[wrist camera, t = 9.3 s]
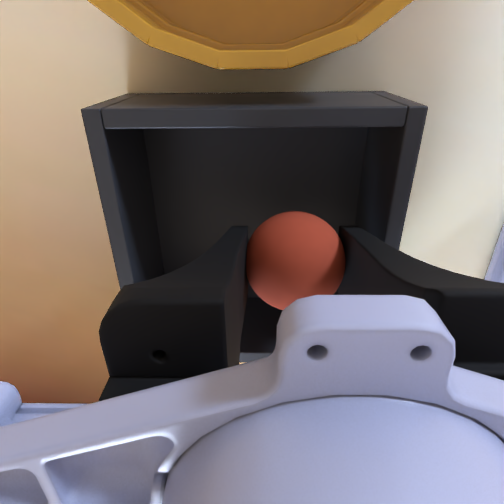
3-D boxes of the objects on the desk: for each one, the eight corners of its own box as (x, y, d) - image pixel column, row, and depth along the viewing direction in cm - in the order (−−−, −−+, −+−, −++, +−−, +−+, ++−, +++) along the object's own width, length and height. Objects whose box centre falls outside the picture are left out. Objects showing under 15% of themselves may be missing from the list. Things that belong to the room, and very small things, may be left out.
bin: (385, 91, 15) (429, 105, 11) (353, 302, 20) (375, 363, 16) (126, 93, 15) (80, 108, 11) (160, 301, 20) (136, 362, 16)
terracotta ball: (340, 196, 14) (363, 239, 11) (331, 276, 16) (349, 333, 13) (245, 196, 14) (240, 239, 11) (246, 276, 16) (243, 333, 13)
